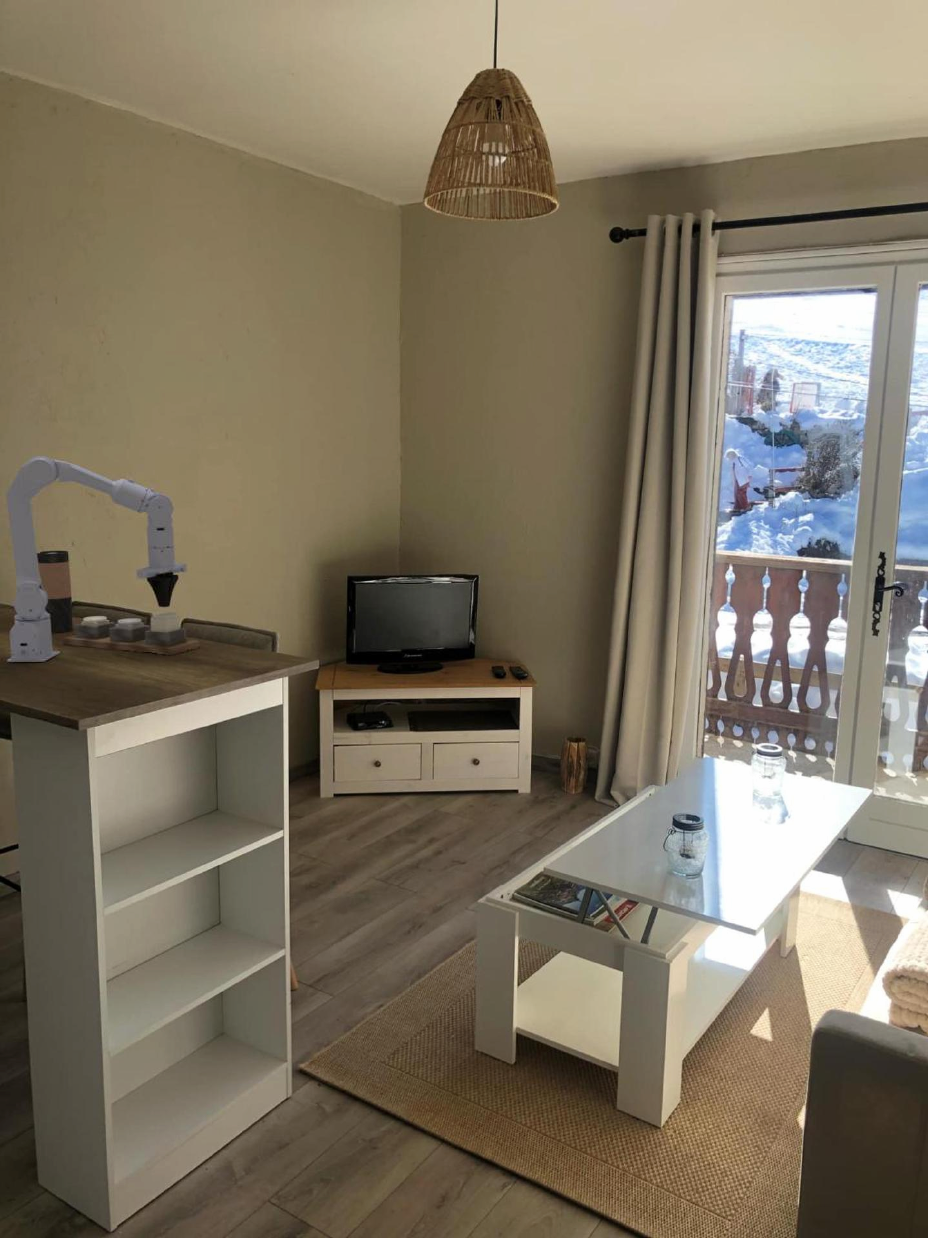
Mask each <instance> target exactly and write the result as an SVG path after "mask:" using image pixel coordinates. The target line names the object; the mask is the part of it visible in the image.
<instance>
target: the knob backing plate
mask: <svg viewBox="0 0 928 1238" xmlns="http://www.w3.org/2000/svg"><path fill="white" fill-rule="evenodd" d="M116 624H117V623H116V622H110V621H109V624H104V625H99V626H87V625H81V623H79V624H75V625H74V628H75V629H74V630H75V635H71V636H67V637H62V644H63V645H66V646H75V647H76V646H77V647H85V648H95V649H106V650H112V651H113V650H115V651H123V650H130V651H129V652H133V651H137V652H136V653H143V652H152V653H157V654H156V655H162V654H165V655H164V656H174V655H177V654H181V652H182V653H185V652H188V651H187V650H189V651H192V650H191V649H193V650H197V649H199V648H198V647H200V648H201V642H200V640H193V639H191V640H190V639H187V628H181V627H180V630H176V631H172V632H168V633H164V632H153V631H151V625H147V624H144V627H139V628H135V629H120V628H116ZM152 653H151V654H152Z"/></svg>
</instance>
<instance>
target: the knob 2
mask: <svg viewBox="0 0 928 1238" xmlns="http://www.w3.org/2000/svg"><path fill="white" fill-rule="evenodd" d="M144 625H145V624H144V622H142V619H141V618H131V617H130V618H122V619H118V620H117V623H116V628H120V629H135V628H139V627H144Z"/></svg>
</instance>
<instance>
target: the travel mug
mask: <svg viewBox="0 0 928 1238" xmlns="http://www.w3.org/2000/svg"><path fill="white" fill-rule="evenodd" d="M69 557H70V556H69V551H68V550H67V551H66V550H42V551H39V553H38V552H37V558H38V566H39V573H40V577H41V583H42V587H43V589H44V590H45V591H46V593H47V595H48V603H47V605H46V607H45V610H46V612H47V613H49V614H50V621H51V634H60V633H68V632H72V631H73V598H72V585H71V584H72V583H71V571H70V559H69Z"/></svg>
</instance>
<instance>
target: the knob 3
mask: <svg viewBox="0 0 928 1238" xmlns="http://www.w3.org/2000/svg"><path fill="white" fill-rule="evenodd" d="M177 615H178V614H177V612H175V611H173V612H172V611H162V612H160V611H159V612H154V613H152V617H150V630H151V631H153V632H164V633H168V632H172V631H176V630H180V628H181V627H180V616H177Z"/></svg>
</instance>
